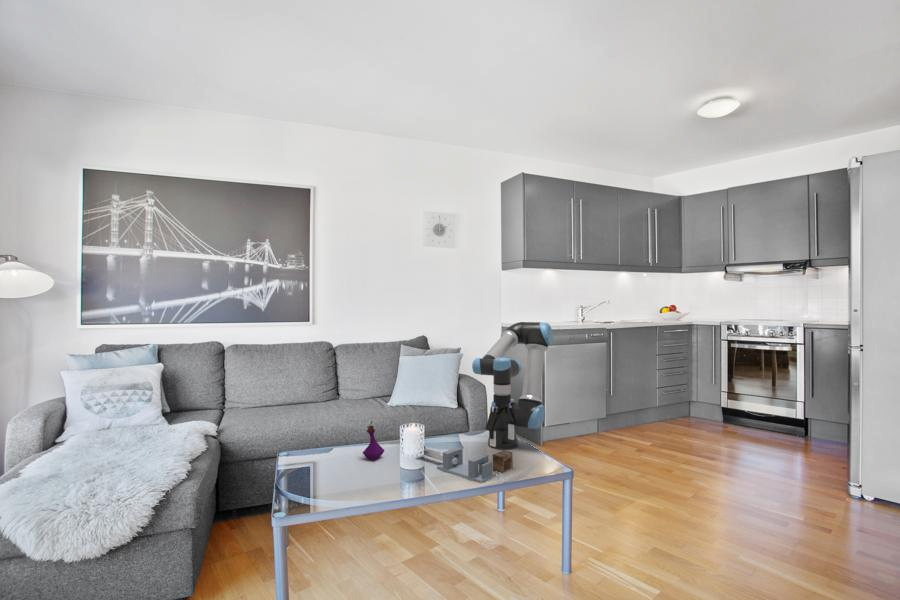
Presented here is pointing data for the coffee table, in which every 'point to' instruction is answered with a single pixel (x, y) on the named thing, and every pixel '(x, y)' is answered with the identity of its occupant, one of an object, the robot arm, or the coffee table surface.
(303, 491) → the coffee table surface
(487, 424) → the robot arm
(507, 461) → the spacer
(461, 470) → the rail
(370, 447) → the perfume bottle
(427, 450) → the shaft
